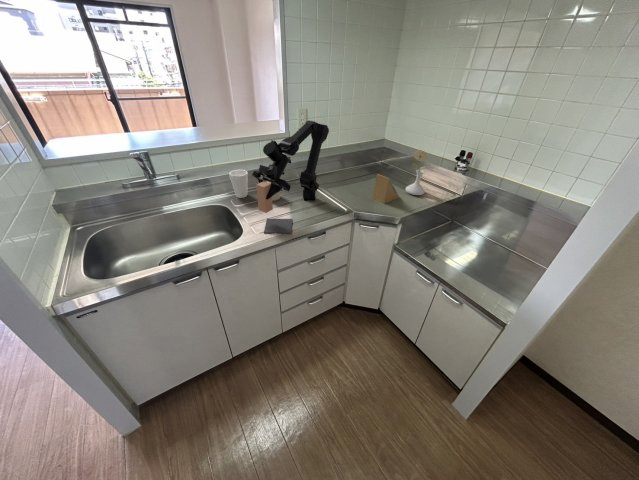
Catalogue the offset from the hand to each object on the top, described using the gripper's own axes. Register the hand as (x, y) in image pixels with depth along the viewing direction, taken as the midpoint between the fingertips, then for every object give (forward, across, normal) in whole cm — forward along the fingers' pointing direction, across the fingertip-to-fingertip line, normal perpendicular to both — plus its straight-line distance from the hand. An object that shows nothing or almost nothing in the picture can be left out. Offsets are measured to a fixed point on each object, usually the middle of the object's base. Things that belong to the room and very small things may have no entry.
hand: (262, 197), depth 115 cm
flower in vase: (-49, +44, +69) cm, 95 cm away
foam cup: (0, -31, +19) cm, 37 cm away
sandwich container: (-36, +34, +56) cm, 75 cm away
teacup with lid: (-6, -17, +25) cm, 31 cm away
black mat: (+8, +7, +11) cm, 15 cm away
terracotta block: (+4, 0, +6) cm, 7 cm away
